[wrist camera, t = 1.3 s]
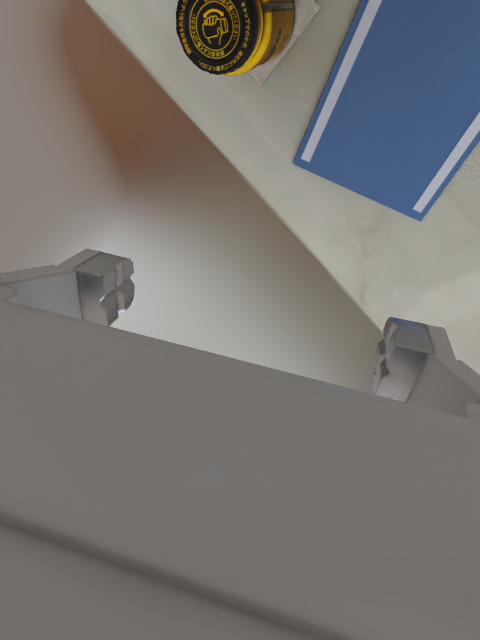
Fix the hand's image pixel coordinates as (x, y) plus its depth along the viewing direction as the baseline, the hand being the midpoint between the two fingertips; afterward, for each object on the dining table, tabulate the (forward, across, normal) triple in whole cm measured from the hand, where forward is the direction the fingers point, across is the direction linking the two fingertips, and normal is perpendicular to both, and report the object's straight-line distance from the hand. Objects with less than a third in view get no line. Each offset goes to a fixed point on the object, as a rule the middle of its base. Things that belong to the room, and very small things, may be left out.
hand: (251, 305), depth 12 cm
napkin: (+30, -6, -5) cm, 31 cm away
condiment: (+30, +8, -10) cm, 33 cm away
